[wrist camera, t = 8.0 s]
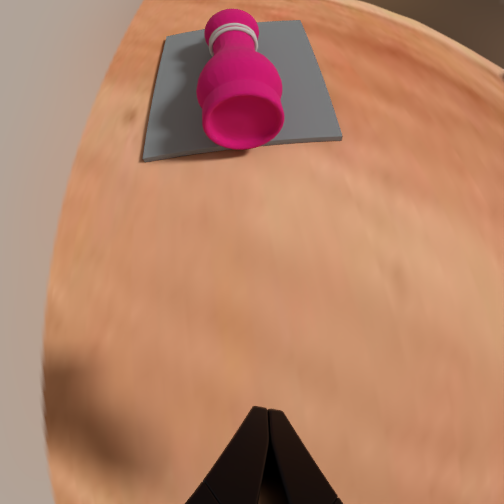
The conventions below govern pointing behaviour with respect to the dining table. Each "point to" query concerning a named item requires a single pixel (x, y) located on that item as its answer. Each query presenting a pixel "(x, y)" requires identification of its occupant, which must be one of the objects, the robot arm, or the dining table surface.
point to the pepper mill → (238, 84)
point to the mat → (190, 113)
